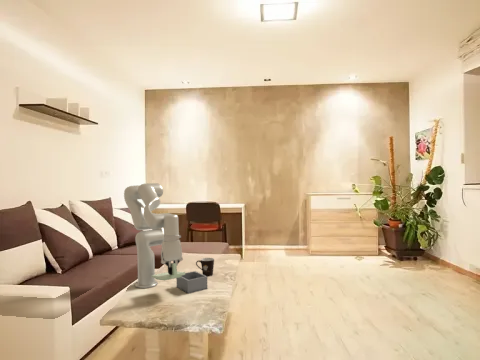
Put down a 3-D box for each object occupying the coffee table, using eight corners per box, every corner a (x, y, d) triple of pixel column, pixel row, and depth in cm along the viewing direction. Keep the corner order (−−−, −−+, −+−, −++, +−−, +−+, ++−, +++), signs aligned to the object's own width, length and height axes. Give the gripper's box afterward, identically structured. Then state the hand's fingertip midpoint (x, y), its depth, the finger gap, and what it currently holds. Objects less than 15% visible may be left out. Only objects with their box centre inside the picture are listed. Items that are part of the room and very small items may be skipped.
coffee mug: (217, 274, 211) (217, 259, 211) (207, 277, 204) (206, 261, 204) (205, 271, 219) (205, 256, 219) (195, 274, 212) (194, 258, 212)
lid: (151, 279, 176) (150, 264, 177) (173, 275, 184) (172, 260, 185) (164, 281, 163) (163, 265, 164) (187, 276, 170) (186, 261, 171)
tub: (176, 287, 187) (176, 274, 187) (195, 282, 194) (195, 271, 194) (188, 293, 176) (187, 280, 176) (207, 288, 183) (207, 276, 183)
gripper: (181, 235, 178) (182, 269, 178) (154, 239, 169) (155, 275, 169) (188, 237, 172) (189, 272, 172) (160, 241, 163) (161, 278, 163)
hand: (172, 273), depth 170 cm, fingers closed on lid, 1 cm apart
